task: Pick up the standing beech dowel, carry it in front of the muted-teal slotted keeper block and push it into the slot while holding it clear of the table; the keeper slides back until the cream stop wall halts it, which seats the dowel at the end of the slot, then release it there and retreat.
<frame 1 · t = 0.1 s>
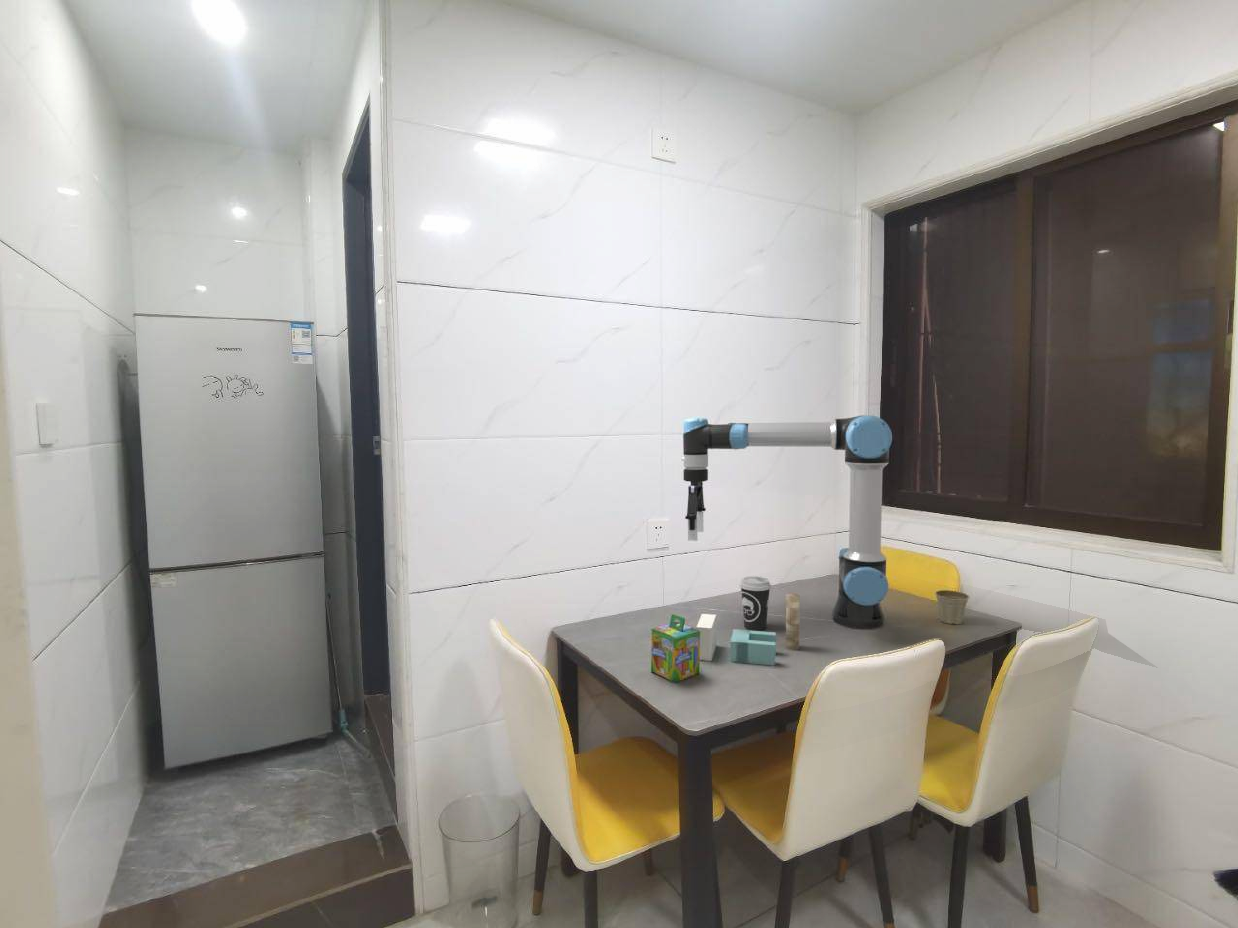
hand: (696, 535, 190), 28 cm above the table, fingers open, 13 cm apart
flower pot: (951, 621, 190), on the table
keeper: (753, 646, 165), point 3 cm above the table, slide at 0.0 cm
stop wall: (706, 652, 169), on the table
chalk box: (675, 673, 156), on the table
coffee cup: (755, 627, 188), on the table
dowel: (792, 647, 171), on the table
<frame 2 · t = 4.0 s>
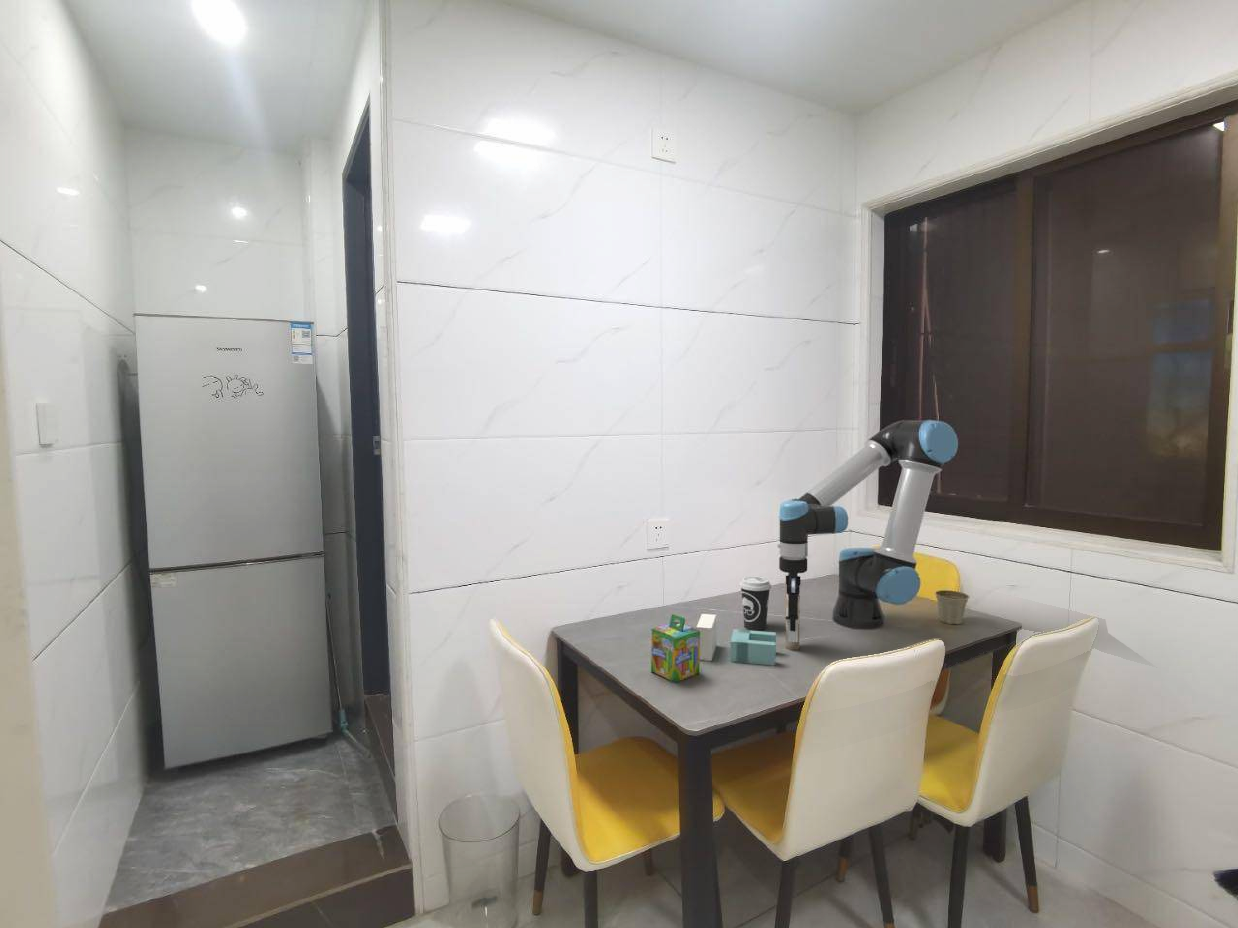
hand: (792, 638, 171), 3 cm above the table, fingers closed on dowel, 3 cm apart
dowel: (792, 647, 171), on the table, touching gripper
everything else where it was.
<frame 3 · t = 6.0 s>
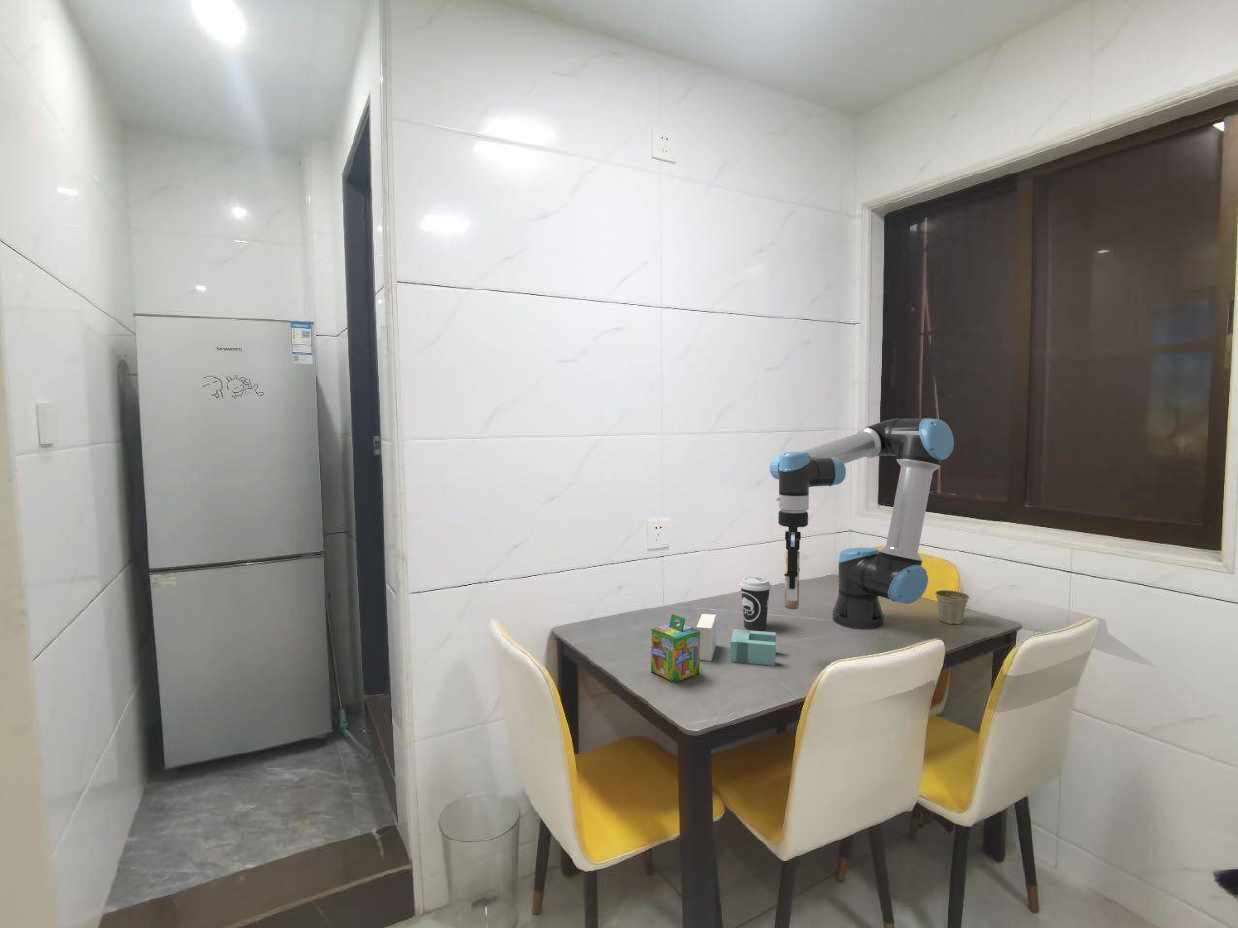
hand: (791, 597, 162), 17 cm above the table, fingers closed on dowel, 3 cm apart
dowel: (791, 607, 162), point 14 cm above the table, touching gripper
everything else where it was.
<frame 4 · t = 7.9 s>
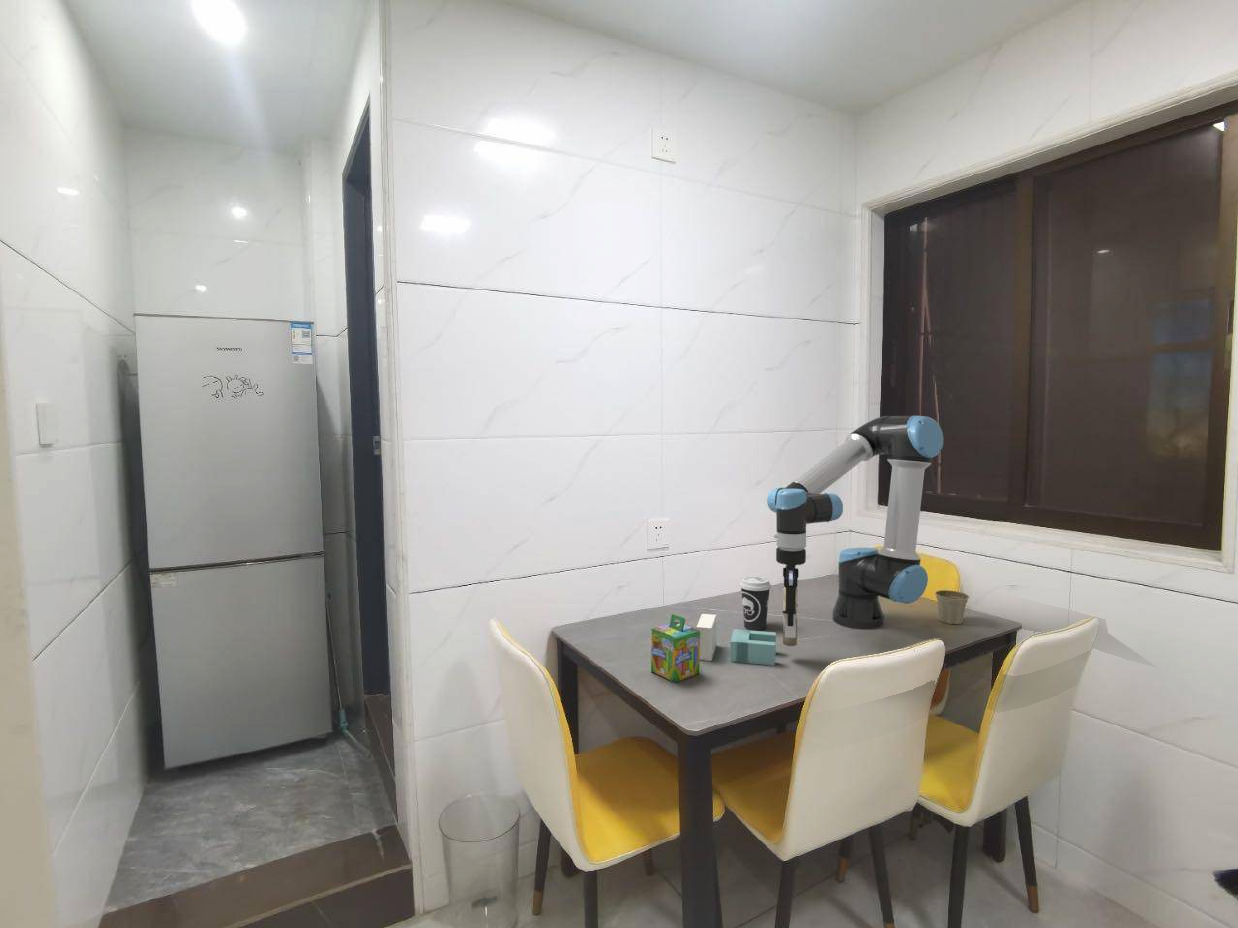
hand: (790, 633, 162), 7 cm above the table, fingers closed on dowel, 3 cm apart
dowel: (789, 643, 162), point 5 cm above the table, touching gripper
everything else where it was.
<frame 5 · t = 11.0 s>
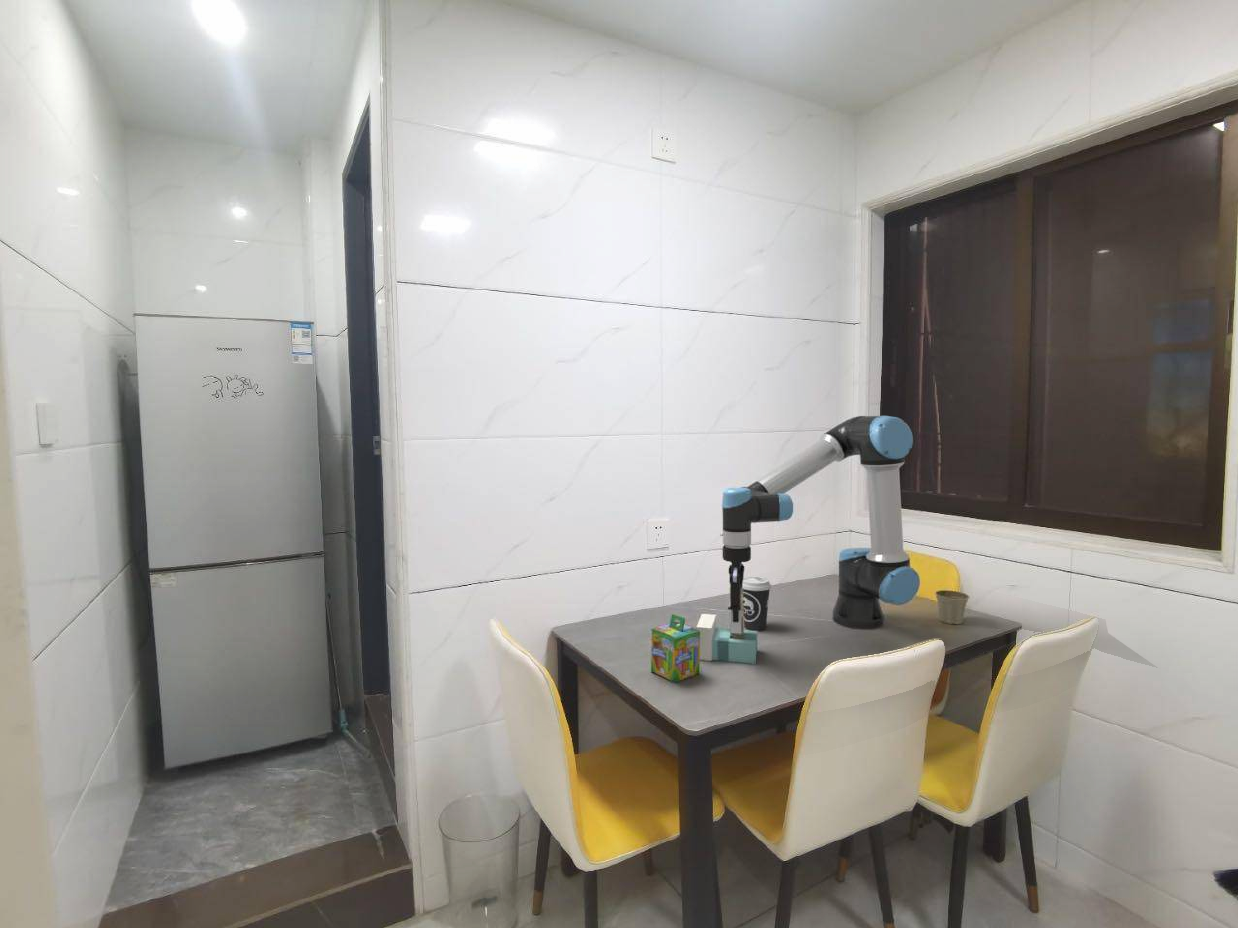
hand: (736, 629, 166), 7 cm above the table, fingers closed on dowel, 3 cm apart
keeper: (734, 645, 166), point 3 cm above the table, slide at 5.0 cm, touching dowel, stop wall
dowel: (737, 641, 166), point 4 cm above the table, touching gripper, keeper
everything else where it was.
when the fingers open (7 cm above the table, at t = 12.0 s): dowel drops 3 cm, on the table.
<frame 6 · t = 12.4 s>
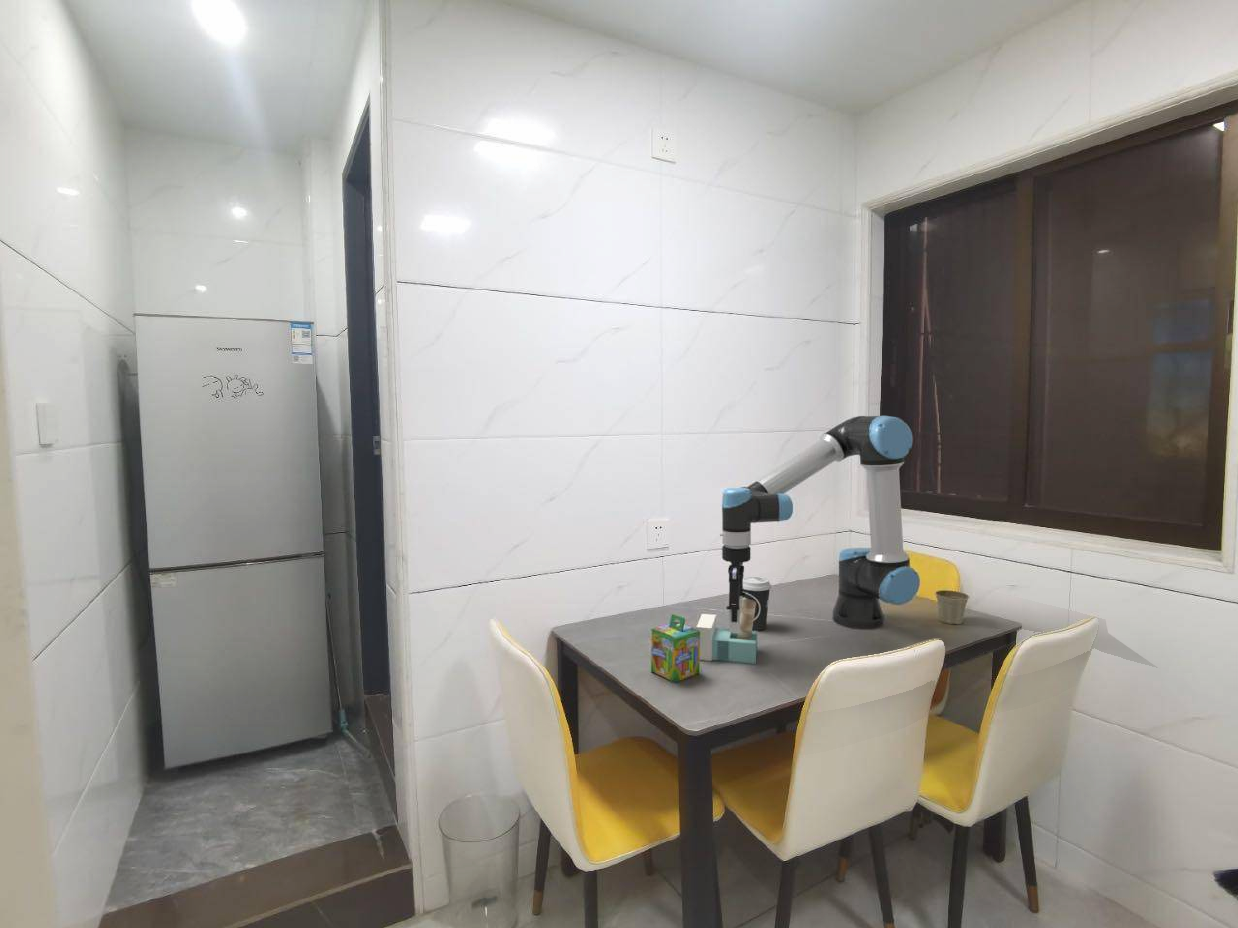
hand: (736, 625, 166), 8 cm above the table, fingers open, 10 cm apart
keeper: (734, 645, 166), point 3 cm above the table, slide at 5.0 cm, touching stop wall
dowel: (741, 654, 166), on the table, tilted 8°
everything else where it was.
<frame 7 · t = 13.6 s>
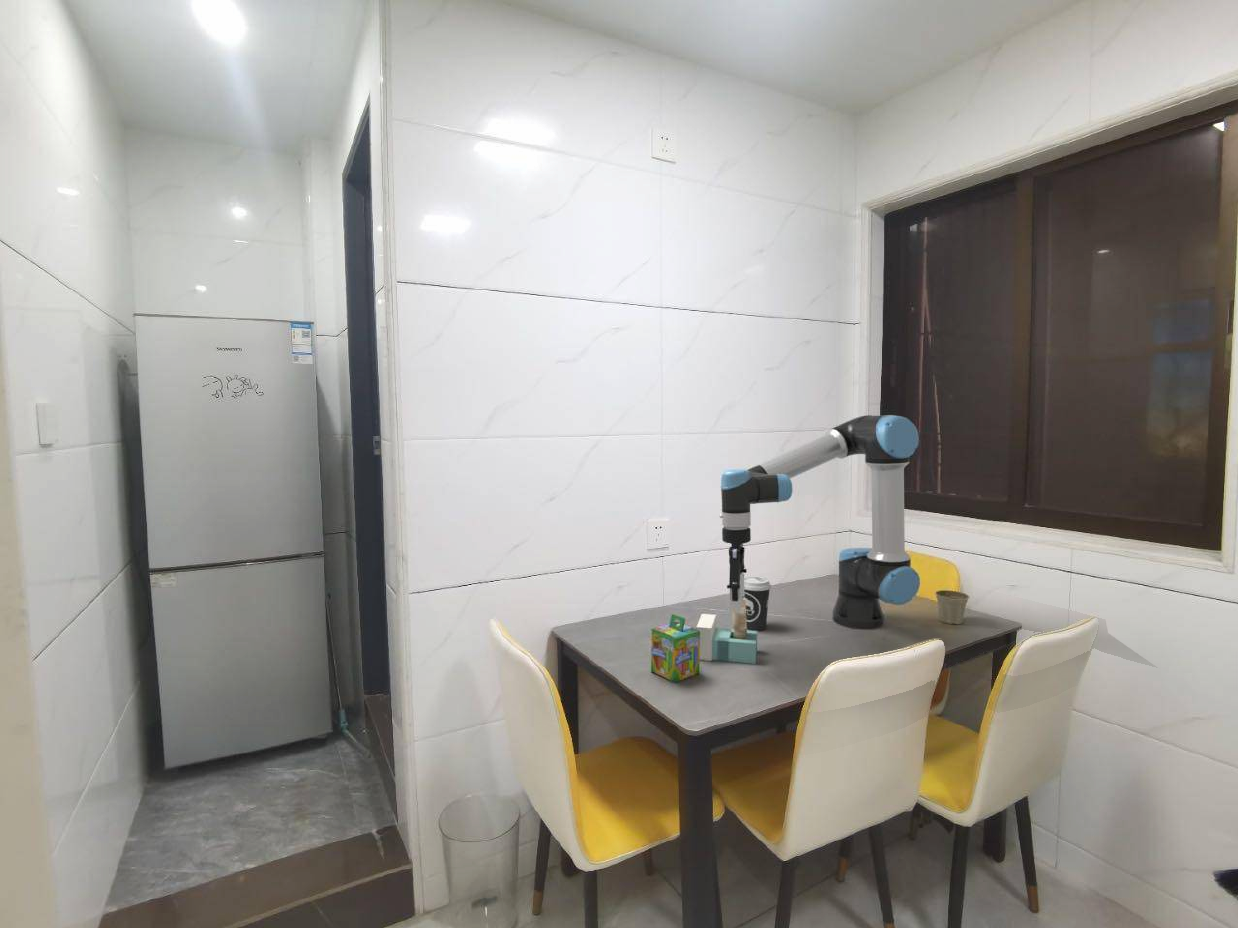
hand: (737, 603, 165), 14 cm above the table, fingers open, 13 cm apart
dowel: (741, 654, 166), on the table
everything else where it was.
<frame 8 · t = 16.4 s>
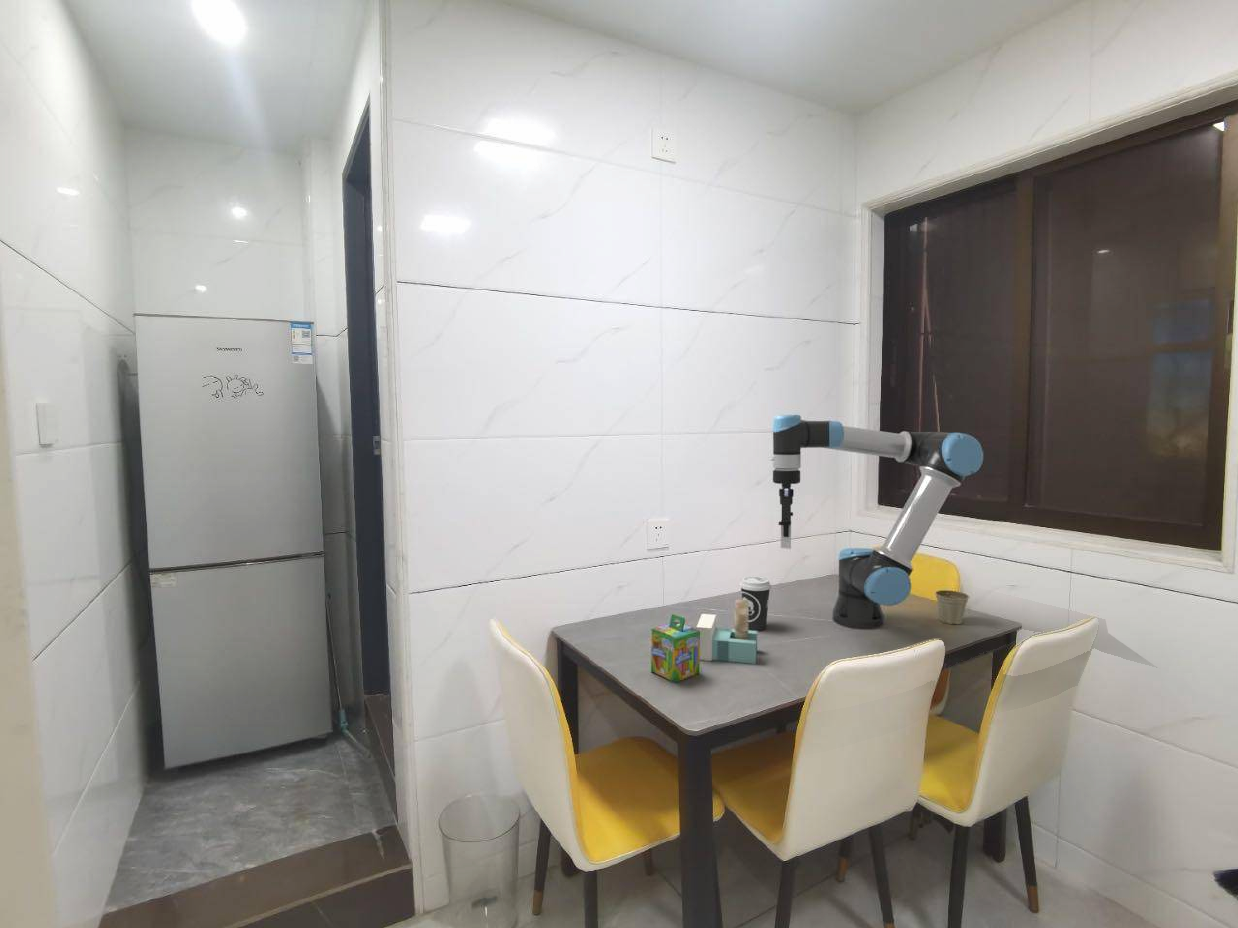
hand: (785, 543, 174), 29 cm above the table, fingers open, 13 cm apart
nothing on the table moved.
at the end: keeper slide at 5.0 cm; dowel 0.6 cm from the target spot on the keeper, point 0.0 cm above the keeper's base; dowel tilted 0° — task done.
